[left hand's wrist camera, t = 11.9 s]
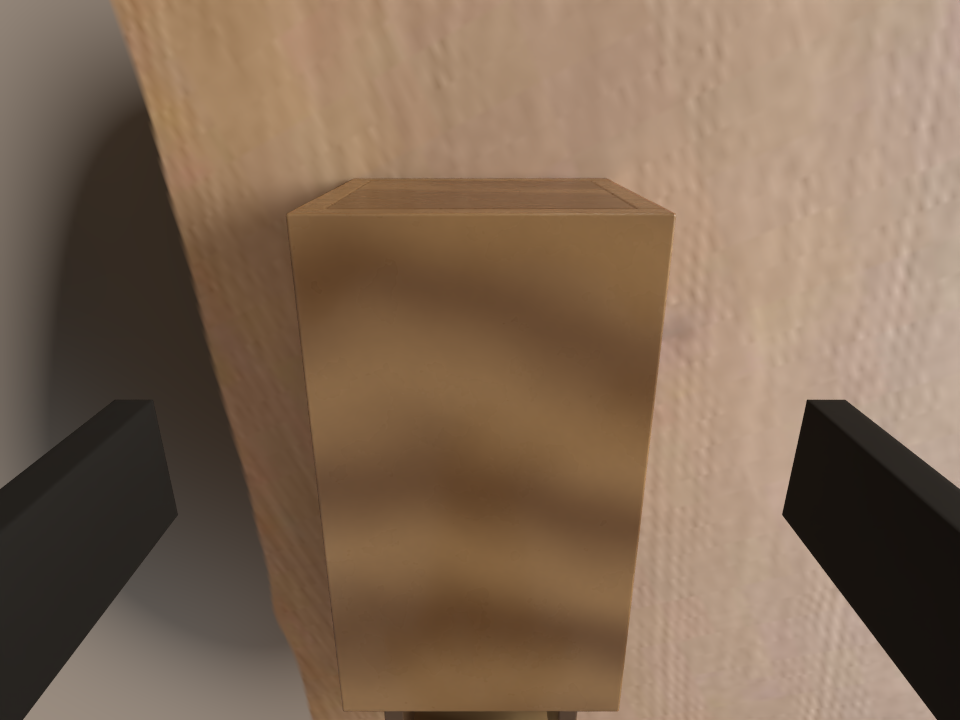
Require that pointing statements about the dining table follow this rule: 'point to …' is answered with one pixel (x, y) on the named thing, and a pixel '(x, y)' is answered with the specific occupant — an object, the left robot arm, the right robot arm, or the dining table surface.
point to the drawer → (480, 715)
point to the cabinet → (480, 432)
